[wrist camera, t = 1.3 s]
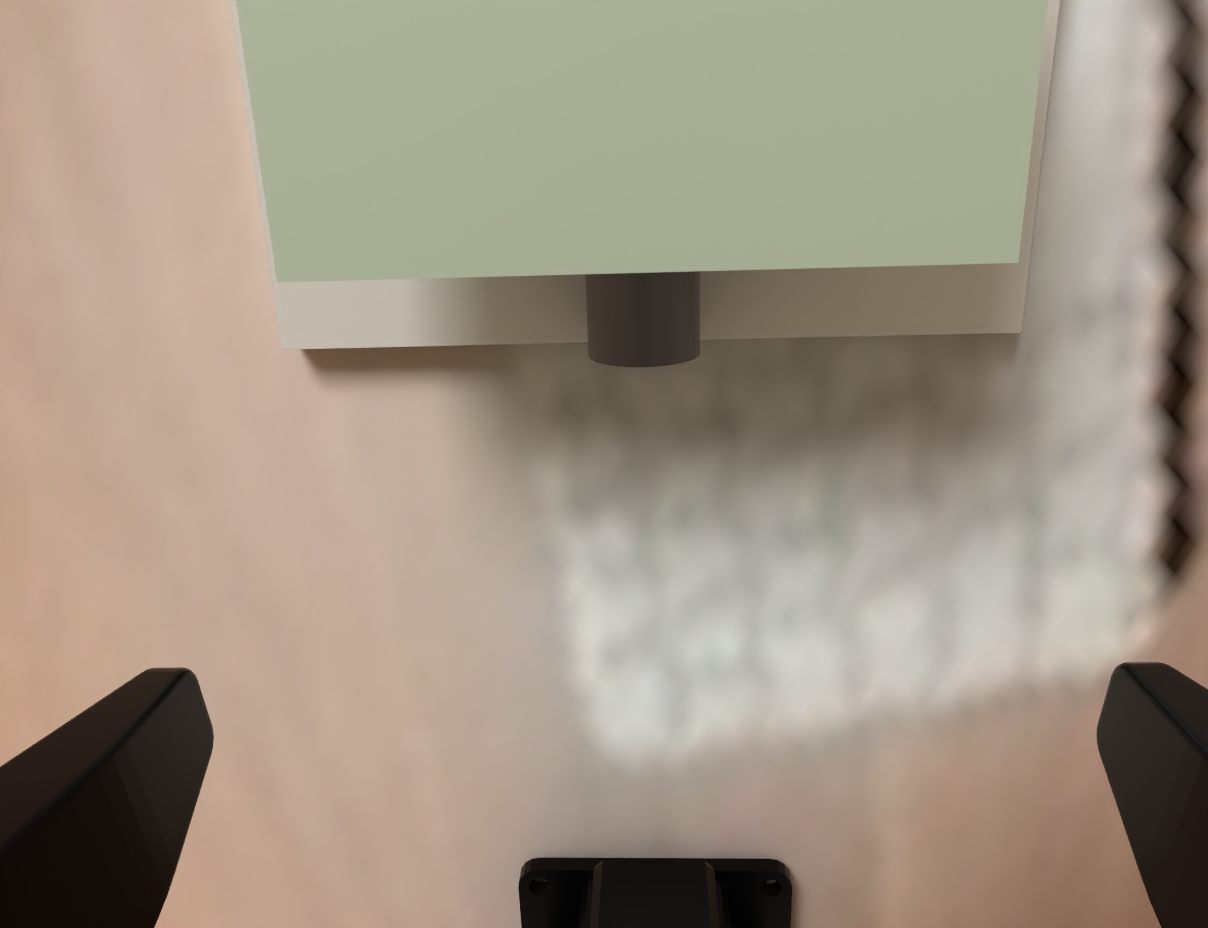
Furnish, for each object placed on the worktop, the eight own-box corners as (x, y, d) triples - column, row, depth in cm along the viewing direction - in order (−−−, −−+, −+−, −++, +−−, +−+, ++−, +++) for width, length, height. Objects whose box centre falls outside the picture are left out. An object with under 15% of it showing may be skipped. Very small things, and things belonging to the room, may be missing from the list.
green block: (925, 227, 17) (1018, 263, 13) (367, 242, 17) (277, 282, 13) (956, -168, 15) (1079, -284, 11) (324, -138, 15) (201, -236, 11)
